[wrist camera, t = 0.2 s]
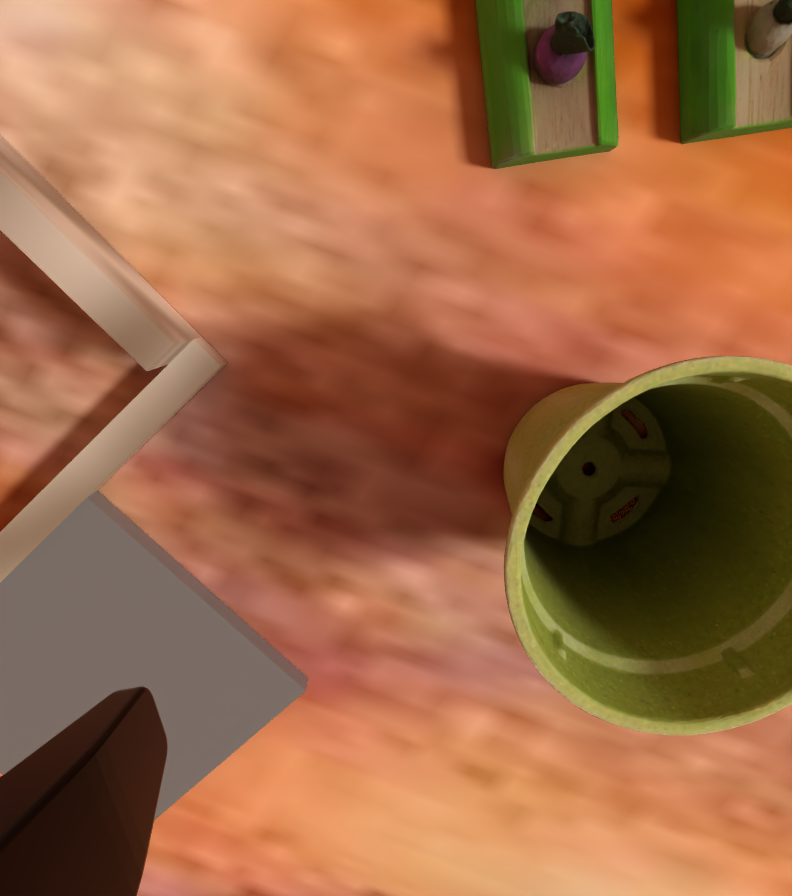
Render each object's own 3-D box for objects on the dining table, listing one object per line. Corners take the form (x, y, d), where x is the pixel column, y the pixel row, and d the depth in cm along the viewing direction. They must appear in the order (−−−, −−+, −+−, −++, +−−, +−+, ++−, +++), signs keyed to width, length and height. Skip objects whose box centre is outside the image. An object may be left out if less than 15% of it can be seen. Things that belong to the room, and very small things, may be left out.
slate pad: (307, 677, 24) (305, 690, 23) (120, 838, 26) (112, 855, 25) (91, 485, 22) (81, 492, 21) (-101, 673, 23) (-117, 686, 23)
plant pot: (402, 466, 22) (421, 569, 14) (596, 276, 21) (747, 262, 13) (570, 624, 24) (677, 800, 16) (757, 459, 23) (984, 555, 14)
